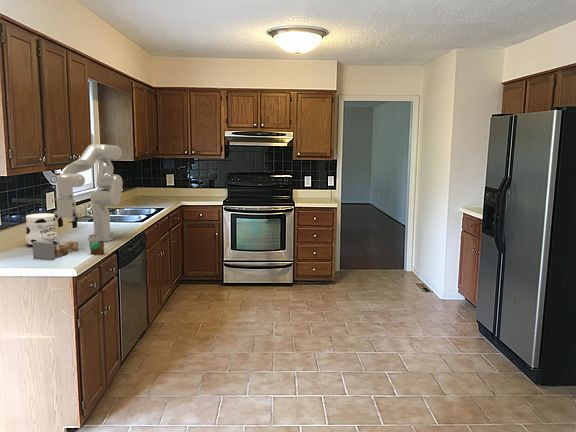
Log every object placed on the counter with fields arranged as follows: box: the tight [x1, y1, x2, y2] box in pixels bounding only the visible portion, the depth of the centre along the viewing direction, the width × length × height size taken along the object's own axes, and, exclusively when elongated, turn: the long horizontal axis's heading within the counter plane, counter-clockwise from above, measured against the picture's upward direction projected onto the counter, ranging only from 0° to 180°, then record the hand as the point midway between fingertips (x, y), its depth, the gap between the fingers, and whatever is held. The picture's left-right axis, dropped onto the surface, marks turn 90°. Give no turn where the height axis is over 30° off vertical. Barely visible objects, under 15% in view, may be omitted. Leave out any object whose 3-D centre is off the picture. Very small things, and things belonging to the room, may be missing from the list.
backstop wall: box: [32, 241, 56, 261], centre depth 251 cm, size 2×12×9 cm, turn 74°
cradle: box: [54, 245, 69, 258], centre depth 260 cm, size 9×8×4 cm
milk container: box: [25, 212, 59, 247], centre depth 285 cm, size 17×17×18 cm
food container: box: [87, 233, 105, 256], centre depth 265 cm, size 12×6×10 cm, turn 45°
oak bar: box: [58, 240, 79, 254], centre depth 269 cm, size 10×4×5 cm, turn 163°
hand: (67, 227), depth 268 cm, fingers open, 9 cm apart
